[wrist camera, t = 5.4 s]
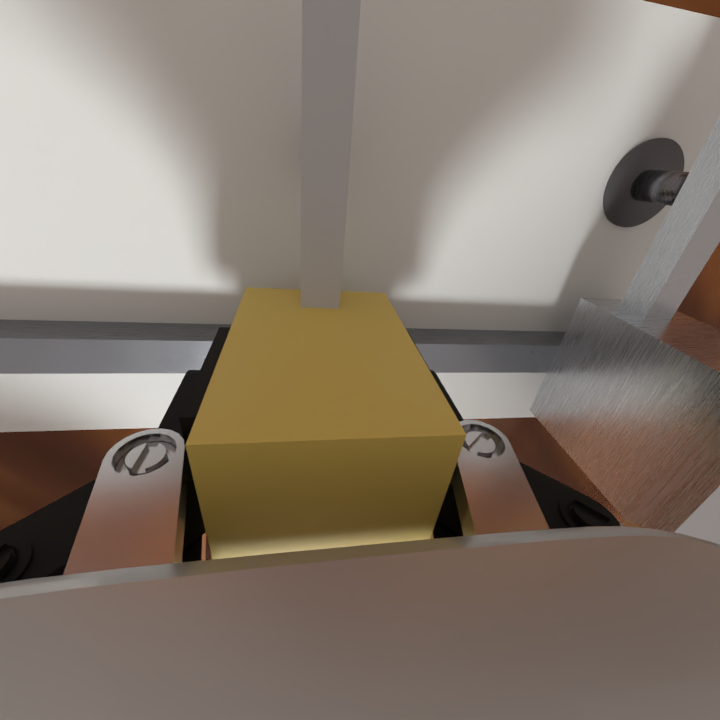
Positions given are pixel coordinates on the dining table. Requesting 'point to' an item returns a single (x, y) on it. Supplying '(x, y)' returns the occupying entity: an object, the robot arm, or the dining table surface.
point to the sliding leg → (321, 371)
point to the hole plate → (366, 170)
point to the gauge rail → (535, 364)
